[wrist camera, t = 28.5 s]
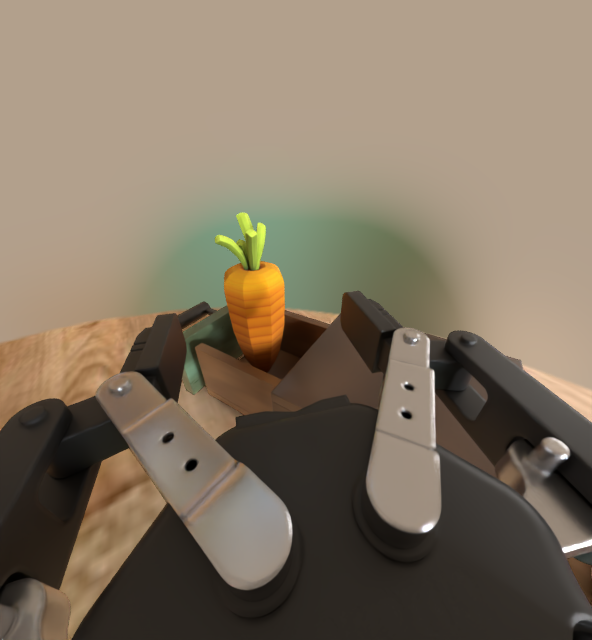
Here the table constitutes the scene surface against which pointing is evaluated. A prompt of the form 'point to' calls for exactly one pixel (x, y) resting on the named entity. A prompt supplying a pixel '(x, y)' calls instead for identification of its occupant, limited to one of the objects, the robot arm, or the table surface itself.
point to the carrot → (254, 296)
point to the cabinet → (364, 389)
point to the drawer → (223, 350)
